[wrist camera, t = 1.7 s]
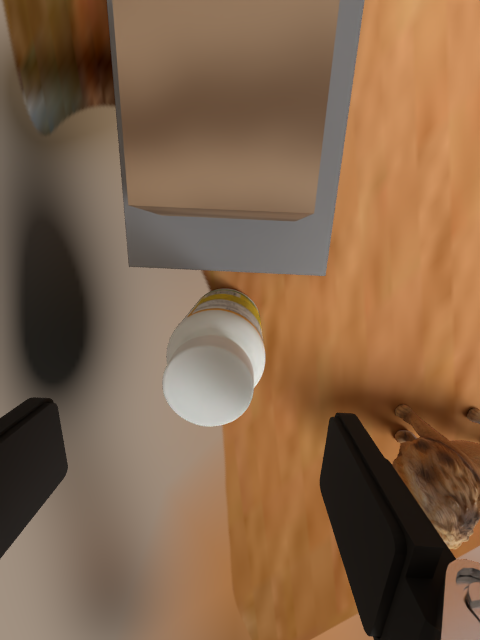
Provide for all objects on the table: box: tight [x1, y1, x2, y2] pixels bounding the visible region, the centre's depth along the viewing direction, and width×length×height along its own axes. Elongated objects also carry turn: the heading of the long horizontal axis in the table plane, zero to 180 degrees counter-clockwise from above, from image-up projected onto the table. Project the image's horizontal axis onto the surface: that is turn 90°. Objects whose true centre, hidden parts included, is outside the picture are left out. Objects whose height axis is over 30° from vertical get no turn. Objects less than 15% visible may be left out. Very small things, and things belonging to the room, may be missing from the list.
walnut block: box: [112, 0, 340, 221], centre depth 13 cm, size 9×9×5 cm
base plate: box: [107, 0, 364, 276], centre depth 16 cm, size 16×14×1 cm
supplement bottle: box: [162, 289, 265, 426], centre depth 16 cm, size 5×5×10 cm
